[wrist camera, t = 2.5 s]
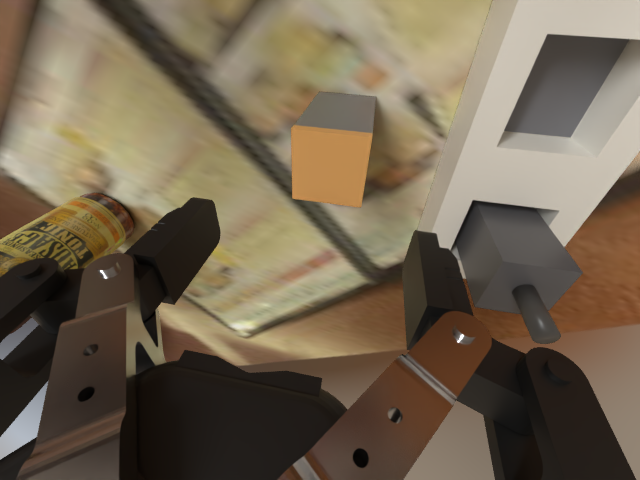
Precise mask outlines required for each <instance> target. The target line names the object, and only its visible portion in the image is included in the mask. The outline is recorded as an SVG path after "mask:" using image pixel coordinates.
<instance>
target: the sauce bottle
mask: <svg viewBox="0 0 640 480" xmlns="http://www.w3.org/2000/svg"><path fill="white" fill-rule="evenodd" d="M133 231H134V224H133V221H132V219H131V217H130V215H129V214H128V212H127V211H126V210H125V209H124V207H122V206H121V205H120V203H118V202H116V201H115V200H113V199H111V198H109V197H107V196H104V195H103V194H100V193H90V194H85V195H82V196H80V197H76V198H74V199H72V200H70V201H68V202H66V203H65V204H63V205H61V206H59V207H58V208H56V209H54V210H52V211H50V212H49V213H47V214H45V215H43V216H41V217H40V218H38V219H36V220H34V221H32V222H31V223H29V224H27V225H25V226H23V227H22V228H20V229H18V230H16V231H15V232H13V233H11V234H9V235H8V236H6V237H4V238H2V239H1V240H0V277H1V276H2V275H4V274H5V273H6V272H8V271H9V270H10V269H12V268H13V267H15V266H17V265H19V264H21V263H23V262H26V261H29V260H32V259H37V258H53V259H55V260H56V261H57V262H58V263H59V264H60V266H61V267H62V269H63V270H67V269H80V268H86V267H87V266H88V265H89V264H90V263H91V262H93V261H95V260H96V259H98V258H100V257H103V256H106V255H109V254H111V253H112V252H114V251H115V250H116V249H117V248H119V247H120V246H121V245H122V244H123V243H124V241H125V240H126V239H127V238H129V237H130V236H131V235H132V233H133ZM30 318H32V317H31V316H30V315H29V316H28V317H27V318H26V319H25V320H24V321H23V322H22V323H21V324H20V325H18V326H17V327H16V328H15V329H14V330H13V331H12V332H11V333H13V332H15V331H16V330H18V329H19V328H20V327H22V325H23V324H25V323H26V322H27V321H28V320H29V319H30ZM11 333H10V334H11Z"/></svg>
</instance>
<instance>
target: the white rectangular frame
mask: <svg viewBox="0 0 640 480" xmlns="http://www.w3.org/2000/svg"><path fill="white" fill-rule="evenodd" d="M639 151H640V0H493V1H492V4H491V7H490V10H489V13H488V16H487V19H486V22H485V25H484V28H483V31H482V34H481V37H480V40H479V43H478V46H477V50H476V53H475V56H474V59H473V62H472V65H471V68H470V71H469V74H468V77H467V80H466V83H465V86H464V89H463V92H462V95H461V98H460V101H459V104H458V107H457V110H456V113H455V116H454V119H453V122H452V125H451V128H450V131H449V134H448V138H447V141H446V144H445V147H444V150H443V153H442V156H441V159H440V162H439V165H438V168H437V171H436V174H435V177H434V180H433V183H432V186H431V189H430V192H429V195H428V198H427V201H426V204H425V207H424V210H423V213H422V216H421V219H420V223H419V226H418V229H417V230H418V231H424V232H431V233H436V234H437V237H438V242H439V246H440V247H441V248H448V249H449V250H450V251H451V252H452V253H453V255H454V256H455V257H456V258H457V260H458V263H459V267H460V272H461V274H462V277H463V278H465V279H466V280H467V283H468V286H469V290H470V293H471V296H472V300H473V303H474V306H475V307H478V308H484V309H491V310H497V311H503V312H509V313H515V314H521V315H522V317H523V319H524V322H525V324H526V326H527V329H528V331H529V333H530V335H531V338H532V340H533V341H535V342H536V343H540V344H548V343H553V342H555V341H557V340H558V339H560V337H561V334H560V333H559V331H558V329H557V327H556V325H555V323H554V321H553V319H552V318H551V316H550V314H549V312H548V311H549V310H550V308H551V307H552V306H553V305H554V304H555V303H556V302H557V301H558V300H559V299H560V297H561V296H562V295H563V294H564V293H565V292H566V291H567V290H568V289H569V288H570V286H571V285H572V284H573V283H574V282H575V281H576V280H577V279H578V278H579V277H580V275H581V274H582V273H583V272H582V271H581V270H580V268H579V267H578V265H577V264H576V263H575V261H574V260H573V259H572V257H571V256H570V255H569V253H568V252H567V251H566V249H565V248H564V247H565V246H566V244H567V243H568V242H569V241H570V239H571V238H572V237H573V235H574V234H575V233H576V232H577V230H578V229H579V228H580V227H581V225H582V224H583V223H584V221H585V220H586V219H587V218H588V216H589V215H590V214H591V212H592V211H593V210H594V209H595V207H596V206H597V205H598V204H599V202H600V201H601V200H602V198H603V197H604V196H605V195H606V193H607V192H608V191H609V190H610V188H611V187H612V186H613V184H614V183H615V182H616V181H617V179H618V178H619V177H620V176H621V174H622V173H623V172H624V170H625V169H626V168H627V167H628V165H629V164H630V163H631V161H632V160H633V159H634V158H635V156H636V155H637V154H638V153H639Z"/></svg>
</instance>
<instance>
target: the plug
mask: <svg viewBox="0 0 640 480" xmlns="http://www.w3.org/2000/svg"><path fill="white" fill-rule="evenodd" d="M375 103H376V97H374V96H363V95H352V94H340V93H329V92H319V93H318V94H317V95H316V97H315V98H314V99H313V101H312V102H311V103H310V104H309V106H308V107H307V108H306V110H305V111H304V112H303V114H302V115H301V116H300V118H299V119H298V120H297V122H296V123H295V124H294V126H293V127H292V128H291V150H292V198H293V199H300V200H308V201H315V202H323V203H330V204H338V205H346V206H353V207H361V204H362V198H363V192H364V186H365V180H366V173H367V167H368V161H369V155H370V149H371V142H372V135H373V124H374V114H375Z"/></svg>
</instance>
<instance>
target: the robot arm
mask: <svg viewBox="0 0 640 480" xmlns="http://www.w3.org/2000/svg"><path fill="white" fill-rule="evenodd" d="M219 240H220V227H219V222H218V218H217V213H216V208H215V204H214V202H213V201H212V200H208V199H201V198H194V197H193V198H191V199H190V200H189V201H187V202H186V203H185V204H184V205H183V206H182V207H181V208H177V209H175V210H173V211H171V212H169V213H167V214H166V215H165V216H164V217H163V218H162V219H161V220H160V221H158V224H157V223H156V224H155V225H154V226H153V227H152V228H151V230H149V231H148V232H147V233H146V234H144V235H143V236H142V237H141V238H140V239H139V240H138V241H137V242H136V243H135V244H134V245H133V246H131V247H130V248H129V249H128V250H127V251H126V252H125V253H124V254H123V253H115V254H109V255H106V256H103V257H100V258H98V259H96V260H95V261H93V262H91V263H90V264H89V265H88V266H87V267H86V268H80V269H67V270H63V269H62V267H61V266H60V264H59V263H58V262H57V261H56V260H55V259H53V258H37V259H32V260H29V261H26V262H23V263H21V264H19V265H17V266H15V267H13V268H12V269H10V270H9V271H8V272H6V273H5V274H4V275H2V276H1V277H0V343H1V342H2V340H3V339H4V338H5V337H6V336H8V335H9V334H10V333H11V332H12V331H13V330H14V329H15V328H16V327H17V326H18V325H20V324H21V323H22V322H23V321H24V320H25V319H26V318H27V317H28V316H29V315H30V316H31V317H32V318H33V319H34V320H35V321H36V322H37V323H38V324H39V325H38V326H37V327H36V328H35V329H34V330H33V331H32V332H31V333H30V334H29V335H28V336H27V337H26V338H25V339H24V340H23V341H22V342H21V343H20V344H19V345H18V346H17V347H16V348H15V349H14V350H13V351H12V352H11V353H9V355H7V356H6V358H4V359H3V360H1V359H0V437H1V435H2V434H3V433H4V432H5V431H6V430H7V428H8V427H9V426H10V425H11V424H12V422H13V421H14V420H15V419H16V418H17V417H18V415H19V414H20V413H21V412H22V411H23V409H24V408H25V407H26V406H27V405H28V403H29V402H30V401H31V400H32V399H33V398H34V396H35V395H36V394H37V393H38V392H39V391H40V389H41V388H42V387H43V386H44V385H45V383H46V382H47V381H48V380H49V381H48V386H47V391H46V395H45V401H44V405H43V411H42V415H41V420H40V425H39V430H38V435H37V437H36V438H35V439H33V440H31V441H30V442H28V443H27V444H25V445H23V446H22V447H20V448H19V449H17V450H15V451H14V452H12V453H10V454H9V455H7V456H6V457H4V458H2V459H1V460H0V480H403V479H404V478H405V476H406V475H407V473H408V472H409V471H410V469H411V468H412V466H413V465H414V463H415V462H416V460H417V458H418V457H419V456H420V454H421V453H422V451H423V450H424V448H425V447H426V445H427V444H428V442H429V440H430V439H431V438H432V436H433V435H434V434H435V432H436V431H437V429H438V427H439V426H440V425H441V423H442V422H443V420H444V419H445V417H446V416H447V414H448V412H449V411H450V410H451V408H452V407H453V405H454V403H455V402H456V400H457V401H459V402H461V403H462V404H464V405H466V406H468V407H470V408H472V409H474V410H475V411H477V412H479V413H481V414H483V415H484V421H485V427H486V432H487V438H488V443H489V449H490V454H491V460H492V465H493V471H494V476H495V480H636V478H635V476H634V474H633V472H632V470H631V468H630V466H629V464H628V462H627V460H626V458H625V456H624V453H623V452H622V449H621V447H620V445H619V443H618V441H617V439H616V437H615V435H614V433H613V431H612V429H611V427H610V425H609V423H608V421H607V418H606V416H605V414H604V412H603V410H602V408H601V406H600V404H599V402H598V400H597V398H596V396H595V394H594V391H593V389H592V387H591V385H590V383H589V381H588V379H587V378H586V376H585V375H584V373H583V372H582V370H581V369H580V368H579V367H578V366H577V365H576V364H575V363H574V362H573V361H571V360H570V359H569V358H567V357H566V356H564V355H563V354H561V353H559V352H557V351H554V350H551V349H548V348H543V347H537V348H533V349H531V350H530V351H529V352H528V353H527V354H525V353H522V352H520V351H518V350H516V349H513V348H511V347H509V346H506V345H504V344H502V343H500V342H498V341H496V340H495V339H493V338H491V335H490V333H489V331H488V329H487V328H486V327H485V325H484V324H483V323H482V322H481V321H479V320H478V319H477V318H475V317H474V316H473V313H472V309H471V306H470V302H469V299H468V295H467V292H466V288H465V285H464V281H463V277H462V274H461V272H460V267H459V263H458V260H457V258H456V257H455V256H454V255H453V253H452V252H451V251H450V250H449V249H448V248H441V247H440V246H439V242H438V237H437V234H436V233H431V232H424V231H418V230H415V231H414V233H413V236H412V239H411V242H410V245H409V248H408V251H407V254H406V257H405V261H404V265H403V292H404V308H405V325H406V341H407V350H410V351H409V352H408V353H407V354H406V355H403V354H402V355H400V356H399V357H398V358H397V359H396V360H395V361H394V362H393V363H392V364H391V365H390V366H389V367H388V368H387V369H386V370H385V371H384V372H383V373H382V374H381V375H380V376H379V377H378V378H377V380H376V381H375V382H374V383H373V384H372V385H371V386H370V387H369V388H368V389H367V390H366V391H365V392H364V393H363V394H362V395H361V396H360V398H359V399H358V400H357V401H356V402H355V403H354V404H353V405H352V406H351V407H350V408H349V409H348V410H347V409H346V407H345V406H344V405H343V404H342V403H341V402H340V401H339V400H337V399H336V398H335V397H334V396H332V395H331V394H330V393H328V392H326V391H324V390H323V389H321V382H322V378H319V377H314V376H309V375H304V374H299V373H295V372H289V371H277V372H260V373H248V372H245V371H243V370H241V369H240V368H238V367H236V366H234V365H232V364H230V363H228V362H227V361H225V360H223V359H221V358H219V357H217V356H212V355H207V354H203V353H198V352H193V351H188V350H185V351H184V352H183V354H182V356H181V357H180V359H179V360H177V361H171V362H165V359H164V355H163V347H162V337H161V327H160V316H159V311H158V309H157V307H158V306H159V305H160V304H161V302H163V303H168V304H173V305H175V303H176V302H177V300H178V299H179V298H180V296H181V295H182V293H183V292H184V291H185V289H186V288H187V286H188V285H189V284H190V282H191V281H192V280H193V278H194V277H195V275H196V274H197V273H198V271H199V270H200V268H201V267H202V266H203V264H204V263H205V261H206V260H207V259H208V257H209V256H210V255H211V253H212V252H213V250H214V249H215V248H216V246H217V245H218V243H219Z"/></svg>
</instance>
